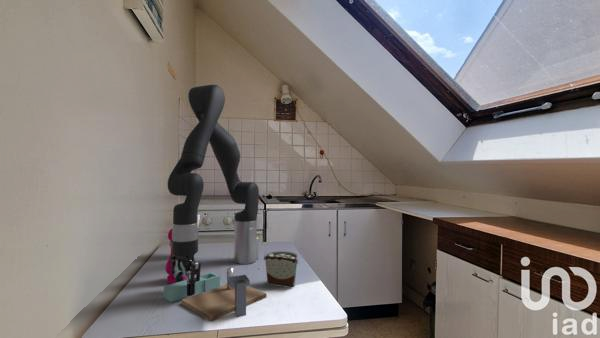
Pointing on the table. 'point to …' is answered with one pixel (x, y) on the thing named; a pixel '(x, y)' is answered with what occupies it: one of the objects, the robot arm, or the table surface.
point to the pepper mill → (168, 267)
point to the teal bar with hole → (205, 284)
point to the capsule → (229, 274)
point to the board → (219, 301)
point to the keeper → (239, 292)
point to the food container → (281, 268)
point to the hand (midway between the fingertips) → (184, 292)
